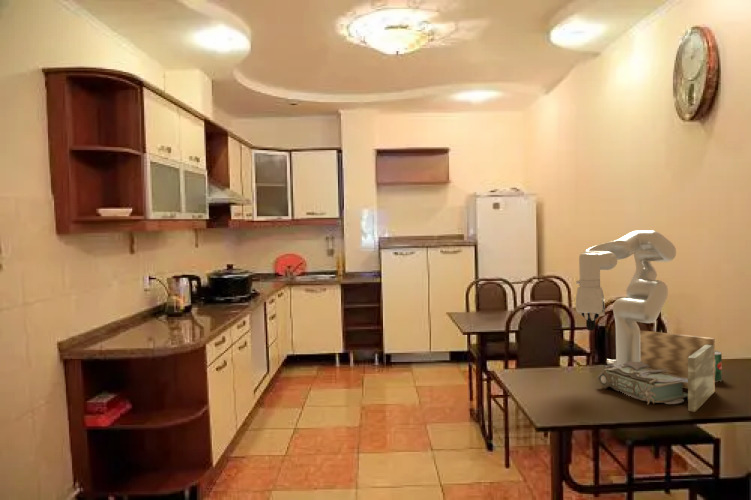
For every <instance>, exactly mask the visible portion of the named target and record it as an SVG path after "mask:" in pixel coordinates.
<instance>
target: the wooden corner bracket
mask: <svg viewBox="0 0 751 500" xmlns="http://www.w3.org/2000/svg"><path fill="white" fill-rule="evenodd" d="M715 348H716V347H715V338H714V337H707V336H697V335H688V334H677V333H667V332H660V331H650V330H640V357H641V361H642V362H644V363H645V364H647V365H649V366H650V367H647V368H651V369H654V370H658V369H660V368H661V370H663V369H668V370H667V371H665V372H663V373H668V374H673V375H676V376H679V377H683V378H687V379H688V383H686V382H684V383H682V389H683V388H684V389H687V393H688V398H687V402H688V403H687V407H688V408H687V410H688V411H689V412H693V413H696V412H697V411H698V409H700V407H702V406H703V404H705V403H706V402H707V400H708V399H709V398H710V397H711V396H712V395H713V394H714V393H715V392H716V391H715V388H716V386H715V384H716V382H715V351H716V350H715Z"/></svg>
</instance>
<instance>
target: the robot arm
mask: <svg viewBox="0 0 751 500" xmlns="http://www.w3.org/2000/svg"><path fill="white" fill-rule="evenodd" d="M676 255H677V249H676V247H675V244H674V243H673V242H672V241H671V240H669V239H668V238H667V237H666V236H665V235H663V234H661V233H660V232H659V231H656V230H633V231H630V232H628V233H626V234H625V235H622V236H620V237H619V238H617V239H615V240H611V241H608V242H604V243H600V244H597V245H594V246H591V247H589V248H587V249H586V250H583V252H582V253H581V254H579V256H578V257H579V258H578V263H579V265H578V267H579V271H578V272H579V280H576V282H575V283H576V284H577V285H578V287H577V289H576V296H575V310H576V314H577V315H580V316H582V317H583V318H584V320H585V322H586V323H585V324H586V325H585V326H586V327H585V328H586V329H587V331H594V330H595V329H596V320H597V319H599V317H604V316H606V312H605V311H606V305H605V304H606V303H605V297H604V290H603V287H601V271H610V270H613V269H615V267H616V266H617V264H618V260H624V259H625V260H626V259H627V258H629V257H630V256H633V258H634V262H635V263H634V264H635V272H634V274H633V275H632V278H631V279H630V281H629V283H628V285H627V287H626V291H625V293H626V296H627V297H621V298H617V299H616V300H615V301H614V302H613V305H612V312H613V316H614V321H615V324H614V325H615V359H610V358H606V364H607V365H608V366H611V365H617V366H618V365H621V366H625V365H623V364H625V363H627V362H629V361H633V362H641V357H640V331H641V329H640V326H639V324H638V323H645V324H651V323H654V322H656V320H657V319H658V317H659V316H660V313H661V312H662V309H663V307H664V305H665V303H666V301H667V298H668V296H669V289H668V286H667V284H666V282H664V281H662V280H659V279H657V276H658V274H657V271H656V269H655V267H654V266H653V264H652V262H657V263H658V262H659V263H663V262H664V263H665V262H666V263H668V262H672V261H673V260H674V259H675V258H676ZM611 368H615V366H611Z"/></svg>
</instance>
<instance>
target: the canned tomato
mask: <svg viewBox="0 0 751 500" xmlns="http://www.w3.org/2000/svg"><path fill="white" fill-rule="evenodd" d="M722 354H723V353H722V352H721V351H718V350H715V383H718V381H720V382H722V380H723V379H722V377H723V376H722V375H723V373H722V371H723V370H722V367H723V366H722V362H723V360H722Z"/></svg>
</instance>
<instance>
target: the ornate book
mask: <svg viewBox="0 0 751 500" xmlns="http://www.w3.org/2000/svg"><path fill="white" fill-rule="evenodd" d="M623 365H625V366H621V365H618V366H617V365H610V367H609V365H607V366H605V368H604V369H603V370H602V371H601V372H600V373H599V374H598V375H597V379H598V382H599V383H600V384H601V387H602V388H604V390H605V389H607V388H612V390H614V391H617V392H619V391H620V393H621V392H622V394H623V393H624V394H623V395H625V394H626V395H625V396H627V395H628V397H630V396H631V397H630V398H632V399H633V398H634V399H636V400H640V401H643V402H647V403H646V405H649V404H650V403H653V405H654V404H656V403H659V404H663V403H664V404H665V405H679V404H682V403H684V402H685V399H684V398H687V399H688V392H684V391H683V388H682V383H684V382H686V383H688V379H687V378H683V377H679V376H676V375H673V374H668V373H663V372H665V371H667V370H668V369H663V370H661V368H660V369H658V370H654V369H651V368H647V367H650V366H649V365H647V364H645V363H644V362H642V361H641V362H633V361H629V362H627V363H625V364H623ZM614 366H615V368H612V367H614Z"/></svg>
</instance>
